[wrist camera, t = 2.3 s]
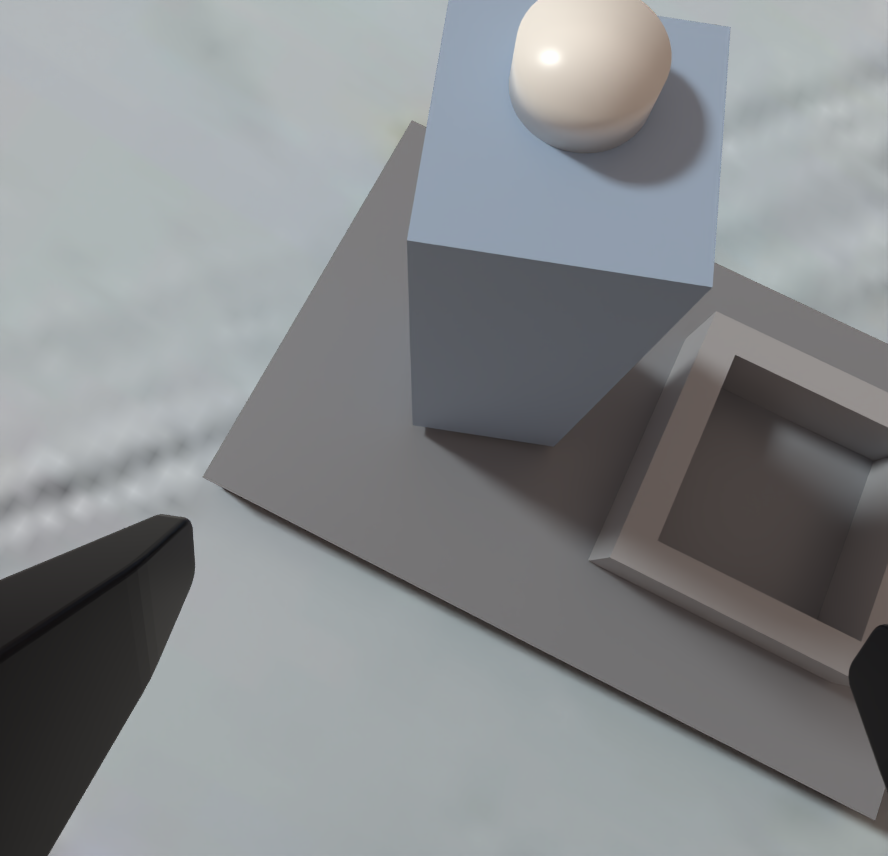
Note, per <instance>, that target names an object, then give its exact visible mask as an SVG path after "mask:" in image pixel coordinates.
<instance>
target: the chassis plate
mask: <svg viewBox="0 0 888 856" xmlns="http://www.w3.org/2000/svg"><path fill="white" fill-rule="evenodd" d="M425 133H426V127H425V126H423V125H421V124H418V123H416V122H414V121H411V123H410V124H409V126H408V128H407V130H406V131H405V133H404V135H403V136H402V138H401V140H400V142H399V143H398V145H397V147H396V148H395V150H394V152H393V153H392V155H391V157H390V159H389V160H388V162H387V164H386V165H385V167H384V169H383V171H382V172H381V174H380V176H379V177H378V179H377V181H376V182H375V184H374V186H373V188H372V189H371V191H370V193H369V194H368V196H367V198H366V199H365V201H364V203H363V205H362V206H361V208H360V210H359V211H358V213H357V215H356V217H355V218H354V220H353V222H352V223H351V225H350V227H349V228H348V230H347V232H346V234H345V235H344V237H343V239H342V240H341V242H340V244H339V245H338V247H337V249H336V251H335V252H334V254H333V256H332V257H331V259H330V261H329V263H328V264H327V266H326V268H325V269H324V271H323V273H322V274H321V276H320V278H319V280H318V281H317V283H316V285H315V286H314V288H313V290H312V291H311V293H310V295H309V297H308V298H307V300H306V302H305V303H304V305H303V307H302V309H301V310H300V312H299V314H298V315H297V317H296V319H295V320H294V322H293V324H292V326H291V327H290V329H289V331H288V332H287V334H286V336H285V337H284V339H283V341H282V343H281V344H280V346H279V348H278V349H277V351H276V353H275V355H274V356H273V358H272V360H271V361H270V363H269V365H268V366H267V368H266V370H265V372H264V373H263V375H262V377H261V378H260V380H259V382H258V384H257V385H256V387H255V389H254V390H253V392H252V394H251V395H250V397H249V399H248V401H247V402H246V404H245V406H244V407H243V409H242V411H241V412H240V414H239V416H238V418H237V419H236V421H235V423H234V424H233V426H232V428H231V430H230V431H229V433H228V435H227V436H226V438H225V440H224V441H223V443H222V445H221V447H220V448H219V450H218V452H217V453H216V455H215V457H214V458H213V460H212V462H211V464H210V465H209V467H208V469H207V470H206V472H205V474H204V476H203V478H205V479H207V480H209V481H211V482H213V483H215V484H217V485H219V486H221V487H223V488H224V489H226V490H228V491H230V492H232V493H234V494H236V495H238V496H240V497H242V498H244V499H246V500H248V501H250V502H252V503H254V504H256V505H258V506H260V507H262V508H264V509H266V510H268V511H269V512H271V513H273V514H275V515H277V516H279V517H281V518H283V519H285V520H287V521H289V522H291V523H293V524H295V525H297V526H299V527H301V528H303V529H305V530H307V531H309V532H311V533H313V534H314V535H316V536H318V537H320V538H322V539H324V540H326V541H328V542H330V543H332V544H334V545H336V546H338V547H340V548H342V549H344V550H346V551H348V552H350V553H352V554H354V555H356V556H358V557H359V558H361V559H363V560H365V561H367V562H369V563H371V564H373V565H375V566H377V567H379V568H381V569H383V570H385V571H387V572H389V573H391V574H393V575H395V576H397V577H399V578H401V579H403V580H404V581H406V582H408V583H410V584H412V585H414V586H416V587H418V588H420V589H422V590H424V591H426V592H428V593H430V594H432V595H434V596H436V597H438V598H440V599H442V600H444V601H446V602H448V603H450V604H451V605H453V606H455V607H457V608H459V609H461V610H463V611H465V612H467V613H469V614H471V615H473V616H475V617H477V618H479V619H481V620H483V621H485V622H487V623H489V624H491V625H493V626H495V627H496V628H498V629H500V630H502V631H504V632H506V633H508V634H510V635H512V636H514V637H516V638H518V639H520V640H522V641H524V642H526V643H528V644H530V645H532V646H534V647H536V648H538V649H540V650H541V651H543V652H545V653H547V654H549V655H551V656H553V657H555V658H557V659H559V660H561V661H563V662H565V663H567V664H569V665H571V666H573V667H575V668H577V669H579V670H581V671H583V672H585V673H586V674H588V675H590V676H592V677H594V678H596V679H598V680H600V681H602V682H604V683H606V684H608V685H610V686H612V687H614V688H616V689H618V690H620V691H622V692H624V693H626V694H628V695H630V696H631V697H633V698H635V699H637V700H639V701H641V702H643V703H645V704H647V705H649V706H651V707H653V708H655V709H657V710H659V711H661V712H663V713H665V714H667V715H669V716H671V717H673V718H675V719H677V720H678V721H680V722H682V723H684V724H686V725H688V726H690V727H692V728H694V729H696V730H698V731H700V732H702V733H704V734H706V735H708V736H710V737H712V738H714V739H716V740H718V741H720V742H722V743H723V744H725V745H727V746H729V747H731V748H733V749H735V750H737V751H739V752H741V753H743V754H745V755H747V756H749V757H751V758H753V759H755V760H757V761H759V762H761V763H763V764H765V765H767V766H768V767H770V768H772V769H774V770H776V771H778V772H780V773H782V774H784V775H786V776H788V777H790V778H792V779H794V780H796V781H798V782H800V783H802V784H804V785H806V786H808V787H810V788H812V789H813V790H815V791H817V792H819V793H821V794H823V795H825V796H827V797H829V798H831V799H833V800H835V801H837V802H839V803H841V804H843V805H845V806H847V807H849V808H851V809H853V810H855V811H857V812H859V813H861V814H863V815H865V816H867V817H869V818H871V819H873V820H875V819H876V816H877V813H878V810H879V807H880V803H881V800H882V797H883V794H884V791H885V788H886V787H885V784H884V782H883V779H882V777H881V774H880V771H879V769H878V766H877V763H876V760H875V757H874V754H873V752H872V749H871V746H870V743H869V740H868V737H867V734H866V732H865V729H864V726H863V723H862V720H861V717H860V714H859V712H858V709H857V706H856V703H855V700H854V697H853V694H852V692H851V689H850V685H849V678H848V675H849V668H850V665H851V663H852V661H853V659H854V658H855V656H856V655H857V653H858V652H859V650H860V649H861V647H862V646H863V644H864V643H865V641H866V640H867V638H868V637H869V635H870V634H871V633H872V631H873V630H874V629H875V628H876V627H877V626H879V625H882V624H888V344H887V343H885V342H883V341H880V340H878V339H876V338H874V337H872V336H870V335H868V334H866V333H863V332H861V331H859V330H857V329H855V328H853V327H851V326H849V325H846V324H844V323H842V322H840V321H838V320H836V319H834V318H831V317H829V316H827V315H825V314H823V313H821V312H819V311H817V310H814V309H812V308H810V307H808V306H806V305H804V304H802V303H800V302H797V301H795V300H793V299H791V298H789V297H787V296H785V295H783V294H780V293H778V292H776V291H774V290H772V289H770V288H768V287H765V286H763V285H761V284H759V283H757V282H755V281H753V280H751V279H748V278H746V277H744V276H742V275H740V274H738V273H736V272H734V271H731V270H729V269H727V268H725V267H723V266H721V265H719V264H717V263H714V274H713V287H712V288H711V289H710V290H709V291H708V292H707V293H706V294H705V295H704V296H703V297H702V298H701V299H700V300H699V301H698V302H697V303H696V304H695V305H694V306H693V307H692V308H691V309H690V310H689V311H688V312H687V313H686V314H685V315H684V316H683V317H682V318H681V319H680V320H679V321H678V322H677V323H676V324H675V325H674V326H673V327H672V328H671V329H670V330H669V331H668V332H667V333H666V334H665V336H664V337H663V338H662V339H661V340H660V341H659V342H658V343H657V344H656V345H655V346H654V347H653V348H652V349H651V350H650V351H649V352H648V353H647V354H646V355H645V356H644V357H643V358H642V359H641V360H640V361H639V362H638V363H637V364H636V365H635V366H634V367H633V368H632V369H631V370H630V371H629V372H628V373H627V374H626V375H625V376H624V377H623V378H622V379H621V380H620V381H619V382H618V383H617V384H616V385H615V386H614V387H613V388H612V389H611V390H610V391H609V392H608V393H607V394H606V395H605V396H604V397H603V398H602V399H601V400H600V401H599V402H598V403H597V404H596V405H595V406H594V407H593V408H592V409H591V410H590V411H589V412H588V413H587V414H586V415H585V416H584V417H583V418H582V419H581V420H580V421H579V422H578V423H577V424H576V425H575V426H574V427H573V428H572V429H571V430H570V431H569V432H568V433H567V434H566V435H565V436H564V437H563V438H562V439H561V440H560V441H559V442H558V443H557V444H556V445H555V446H554V447H552V446H546V445H539V444H533V443H526V442H520V441H513V440H507V439H500V438H493V437H487V436H480V435H474V434H467V433H461V432H454V431H448V430H441V429H434V428H428V427H421V426H415V425H413V422H412V390H411V357H410V325H409V293H408V261H407V237H408V231H409V225H410V219H411V214H412V208H413V202H414V196H415V191H416V185H417V179H418V173H419V168H420V162H421V156H422V150H423V145H424V139H425Z"/></svg>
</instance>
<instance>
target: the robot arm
mask: <svg viewBox="0 0 888 856" xmlns="http://www.w3.org/2000/svg"><path fill="white" fill-rule="evenodd" d="M194 573H195V556H194V542H193V528H192V524H191V522H190V521H189V520H188V519H187V518H184V517H178V516H171V515H165V514H160V515H156V516H153V517H151V518H148V519H146V520H143V521H141V522H139V523H136V524H134V525H131V526H129V527H127V528H124V529H122V530H119V531H117V532H115V533H112V534H110V535H107V536H105V537H102V538H100V539H98V540H95V541H93V542H90V543H88V544H86V545H83V546H81V547H78V548H76V549H74V550H71V551H69V552H66V553H64V554H62V555H59V556H57V557H54V558H52V559H49V560H47V561H45V562H42V563H40V564H37V565H35V566H33V567H30V568H28V569H25V570H23V571H21V572H18V573H16V574H13V575H11V576H8V577H6V578H4V579H1V580H0V856H48V854H49V853H50V851H51V849H52V848H53V846H54V844H55V842H56V841H57V839H58V837H59V836H60V834H61V832H62V830H63V829H64V827H65V825H66V824H67V822H68V820H69V819H70V817H71V815H72V813H73V812H74V810H75V808H76V807H77V805H78V803H79V801H80V800H81V798H82V796H83V795H84V793H85V791H86V789H87V788H88V786H89V784H90V783H91V781H92V779H93V777H94V776H95V774H96V772H97V771H98V769H99V767H100V765H101V764H102V762H103V760H104V759H105V757H106V755H107V754H108V752H109V750H110V748H111V747H112V745H113V743H114V742H115V740H116V738H117V736H118V735H119V733H120V731H121V730H122V728H123V726H124V724H125V723H126V721H127V719H128V718H129V716H130V714H131V712H132V711H133V709H134V707H135V706H136V704H137V702H138V700H139V699H140V697H141V695H142V694H143V692H144V690H145V688H146V686H147V684H148V683H149V681H150V679H151V677H152V675H153V673H154V671H155V668H156V666H157V664H158V662H159V659H160V657H161V655H162V653H163V650H164V648H165V646H166V643H167V641H168V639H169V636H170V634H171V632H172V629H173V627H174V625H175V622H176V620H177V618H178V615H179V613H180V611H181V608H182V606H183V604H184V601H185V599H186V597H187V594H188V592H189V590H190V587H191V585H192V581H193V578H194ZM848 678H849V685H850V689H851V692H852V694H853V697H854V700H855V703H856V706H857V709H858V712H859V714H860V717H861V720H862V723H863V726H864V729H865V732H866V734H867V737H868V740H869V743H870V746H871V749H872V752H873V754H874V757H875V760H876V763H877V766H878V769H879V771H880V774H881V777H882V779H883V782H884V784H885V787H886V789H887V792H888V624H882V625H879V626H877V627H876V628H875V629H874V630H873V631H872V633H871V634H870V635H869V637H868V638H867V640H866V641H865V643H864V644H863V646H862V647H861V649H860V650H859V652H858V653H857V655H856V656H855V658H854V659H853V661H852V663H851V665H850V668H849V675H848Z"/></svg>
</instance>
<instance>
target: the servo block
mask: <svg viewBox="0 0 888 856" xmlns="http://www.w3.org/2000/svg"><path fill="white" fill-rule="evenodd" d="M729 41H730V27H726V26H720V25H713V24H707V23H700V22H694V21H687V20H681V19H675V18H668V17H662V16H657V15H656V14H655V13H654V12H653V11H652V10H651V9H650V8H649V7H648V6H647V5H646V4H645V3H644V2H642V1H641V0H449V1H448V7H447V13H446V18H445V24H444V30H443V36H442V41H441V47H440V53H439V59H438V64H437V70H436V76H435V81H434V87H433V93H432V99H431V104H430V110H429V116H428V122H427V127H426V133H425V139H424V145H423V150H422V156H421V162H420V168H419V173H418V179H417V185H416V191H415V196H414V202H413V208H412V214H411V219H410V225H409V231H408V237H407V261H408V293H409V325H410V357H411V390H412V422H413V425H415V426H421V427H428V428H434V429H441V430H448V431H454V432H461V433H467V434H474V435H480V436H487V437H493V438H500V439H507V440H513V441H520V442H526V443H533V444H539V445H546V446H552V447H554V446H555V445H556V444H557V443H558V442H559V441H560V440H561V439H562V438H563V437H564V436H565V435H566V434H567V433H568V432H569V431H570V430H571V429H572V428H573V427H574V426H575V425H576V424H577V423H578V422H579V421H580V420H581V419H582V418H583V417H584V416H585V415H586V414H587V413H588V412H589V411H590V410H591V409H592V408H593V407H594V406H595V405H596V404H597V403H598V402H599V401H600V400H601V399H602V398H603V397H604V396H605V395H606V394H607V393H608V392H609V391H610V390H611V389H612V388H613V387H614V386H615V385H616V384H617V383H618V382H619V381H620V380H621V379H622V378H623V377H624V376H625V375H626V374H627V373H628V372H629V371H630V370H631V369H632V368H633V367H634V366H635V365H636V364H637V363H638V362H639V361H640V360H641V359H642V358H643V357H644V356H645V355H646V354H647V353H648V352H649V351H650V350H651V349H652V348H653V347H654V346H655V345H656V344H657V343H658V342H659V341H660V340H661V339H662V338H663V337H664V336H665V334H666V333H667V332H668V331H669V330H670V329H671V328H672V327H673V326H674V325H675V324H676V323H677V322H678V321H679V320H680V319H681V318H682V317H683V316H684V315H685V314H686V313H687V312H688V311H689V310H690V309H691V308H692V307H693V306H694V305H695V304H696V303H697V302H698V301H699V300H700V299H701V298H702V297H703V296H704V295H705V294H706V293H707V292H708V291H709V290H710V289H711V288H712V287H713V274H714V259H715V245H716V230H717V216H718V201H719V187H720V172H721V158H722V143H723V129H724V114H725V99H726V85H727V70H728V56H729Z"/></svg>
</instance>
